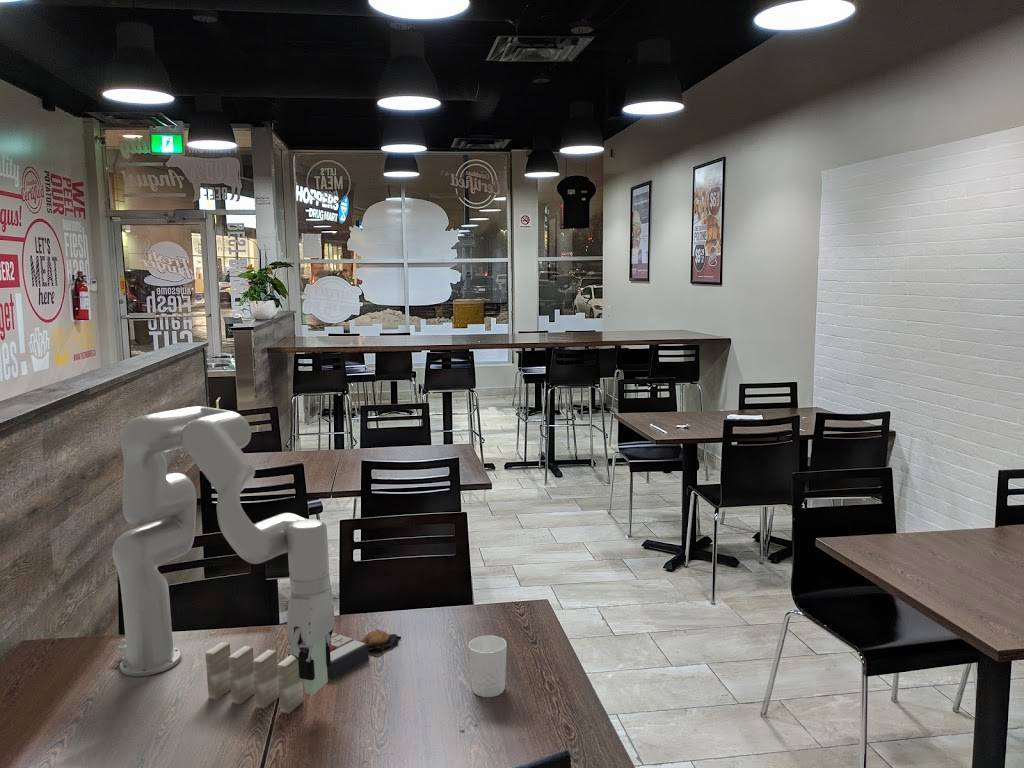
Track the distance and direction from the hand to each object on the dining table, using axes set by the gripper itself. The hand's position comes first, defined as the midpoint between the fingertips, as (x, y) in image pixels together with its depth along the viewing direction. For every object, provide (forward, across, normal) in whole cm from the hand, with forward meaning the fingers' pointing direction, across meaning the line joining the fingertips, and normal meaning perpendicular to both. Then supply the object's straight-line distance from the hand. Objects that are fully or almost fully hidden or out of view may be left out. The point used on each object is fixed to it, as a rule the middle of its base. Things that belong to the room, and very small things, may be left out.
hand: (315, 670), depth 154 cm
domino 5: (+3, 0, 0) cm, 3 cm away
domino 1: (+8, 0, -23) cm, 25 cm away
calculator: (+9, -20, -10) cm, 24 cm away
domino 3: (+9, 0, -12) cm, 15 cm away
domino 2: (+8, 0, -18) cm, 20 cm away
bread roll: (+9, -29, -2) cm, 31 cm away
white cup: (+9, -18, +30) cm, 36 cm away
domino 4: (+9, 0, -6) cm, 10 cm away
